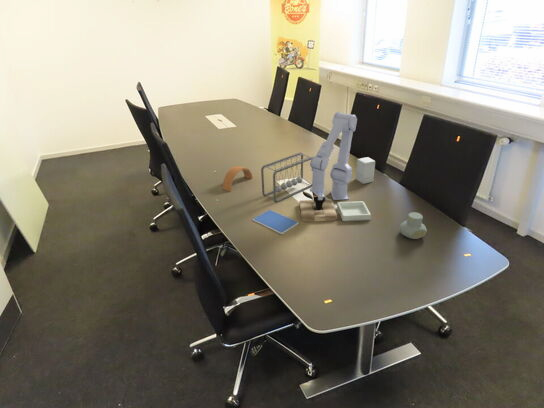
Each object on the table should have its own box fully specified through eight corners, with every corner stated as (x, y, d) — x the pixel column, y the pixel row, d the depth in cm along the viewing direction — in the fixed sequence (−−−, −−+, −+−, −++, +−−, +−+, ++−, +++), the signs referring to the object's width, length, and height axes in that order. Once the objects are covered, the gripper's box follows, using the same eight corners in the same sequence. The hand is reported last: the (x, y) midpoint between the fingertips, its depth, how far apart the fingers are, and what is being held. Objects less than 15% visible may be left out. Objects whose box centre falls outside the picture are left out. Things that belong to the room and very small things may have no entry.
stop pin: (312, 210, 177) (312, 194, 172) (320, 209, 177) (321, 193, 172) (313, 214, 173) (314, 198, 169) (322, 214, 173) (322, 197, 169)
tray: (337, 207, 178) (337, 202, 177) (363, 206, 178) (363, 201, 177) (342, 221, 167) (343, 215, 165) (370, 220, 167) (370, 214, 165)
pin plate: (299, 204, 182) (299, 200, 180) (330, 203, 182) (330, 199, 181) (302, 221, 168) (303, 217, 166) (336, 219, 168) (337, 215, 167)
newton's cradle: (274, 203, 184) (273, 172, 175) (262, 196, 191) (260, 166, 182) (315, 185, 200) (315, 156, 192) (301, 180, 207) (302, 151, 199)
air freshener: (406, 242, 151) (410, 222, 146) (395, 232, 158) (398, 212, 153) (428, 237, 153) (433, 218, 148) (416, 227, 160) (420, 208, 155)
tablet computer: (251, 221, 171) (251, 218, 170) (269, 210, 178) (269, 208, 178) (281, 235, 159) (281, 233, 158) (299, 224, 167) (299, 221, 166)
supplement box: (373, 181, 202) (376, 161, 196) (362, 184, 200) (364, 163, 194) (366, 176, 208) (368, 156, 202) (355, 179, 206) (357, 158, 200)
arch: (222, 189, 200) (220, 173, 195) (245, 176, 214) (244, 161, 209) (230, 192, 197) (228, 175, 192) (252, 178, 211) (251, 163, 206)
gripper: (308, 174, 173) (307, 199, 179) (312, 188, 160) (311, 214, 167) (322, 174, 173) (321, 198, 179) (327, 187, 160) (326, 213, 167)
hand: (317, 206), depth 173 cm, fingers open, 7 cm apart
